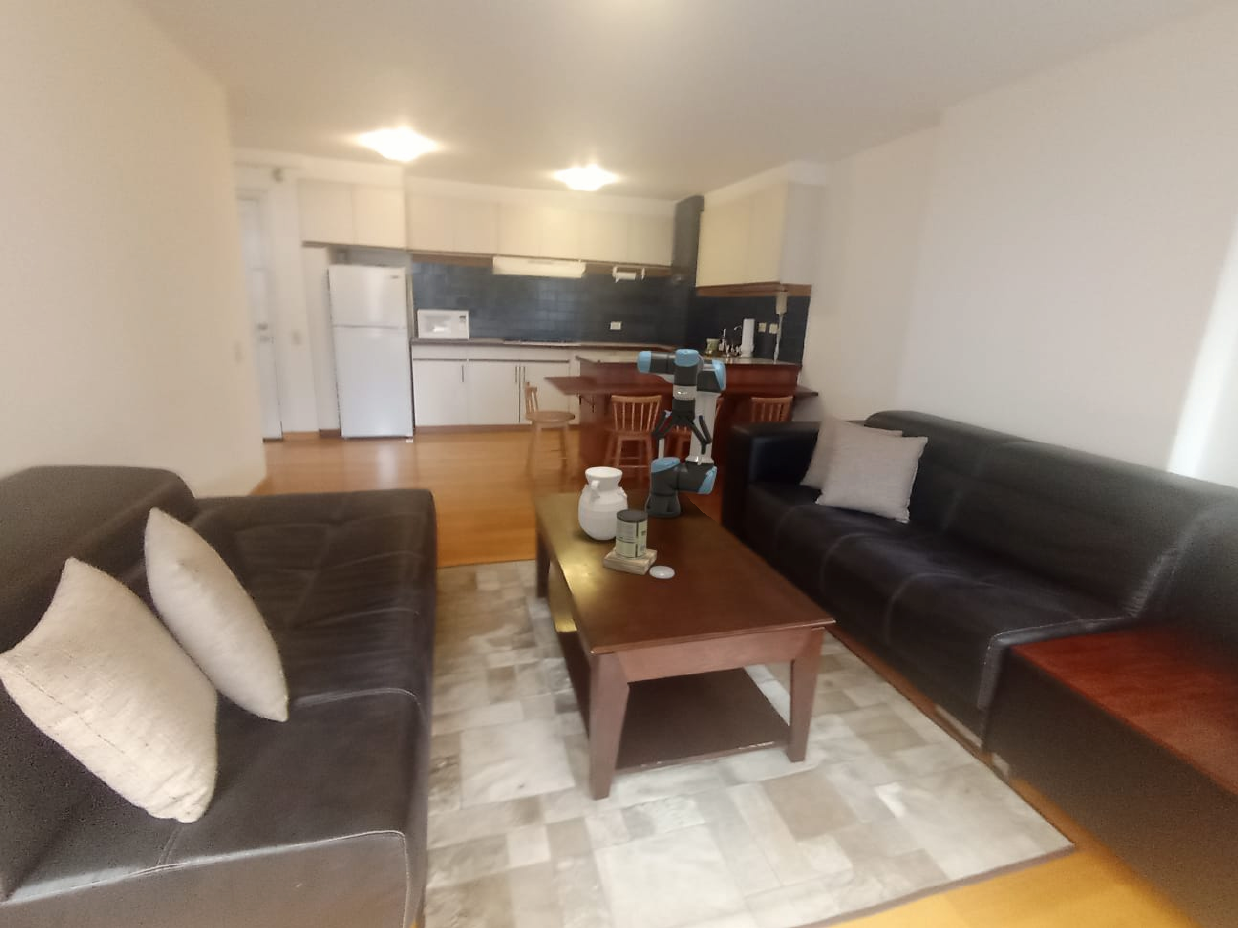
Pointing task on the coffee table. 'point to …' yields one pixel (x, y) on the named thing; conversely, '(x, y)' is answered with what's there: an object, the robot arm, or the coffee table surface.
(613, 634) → the coffee table surface
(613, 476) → the pitcher
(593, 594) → the coffee table surface
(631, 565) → the folded beige cloth
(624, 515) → the coffee can
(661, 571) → the coaster
